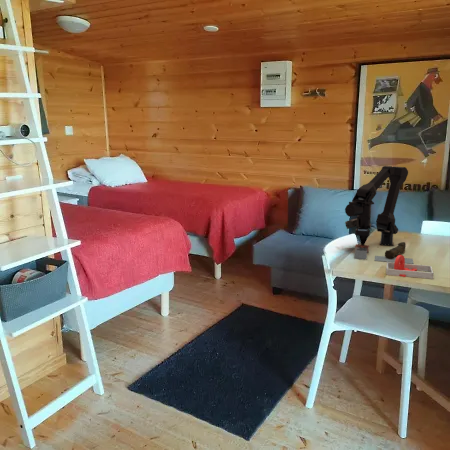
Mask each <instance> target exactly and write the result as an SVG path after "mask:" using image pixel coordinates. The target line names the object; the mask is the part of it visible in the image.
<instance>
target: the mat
mask: <svg viewBox="0 0 450 450" xmlns="http://www.w3.org/2000/svg"><path fill="white" fill-rule="evenodd" d="M396 257H397V256H394V258H392V259H388V258H386V257H385V255H375V256H374V262H383V263H384V262H385V263H387V262H390V263H395V259H396ZM404 258H405V264H414V265H415V262H414V259H413V258H410V257H409V258H406V257H404Z"/></svg>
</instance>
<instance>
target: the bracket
mask: <svg viewBox="0 0 450 450" xmlns="http://www.w3.org/2000/svg"><path fill="white" fill-rule="evenodd" d="M395 257H396V259H395V263H394V262H393V263H394V268H393V269H394V270H406V271H417V269H412V270H410V269H409V268H404V265H405V264H406V263H405V258H406V257H405V255H402V254H398V255H396V256H395ZM399 263H400V264H399ZM417 272H418V271H417ZM398 277H403V278H407V277H406V275H401V274H399V276H398Z"/></svg>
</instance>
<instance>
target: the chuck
mask: <svg viewBox="0 0 450 450" xmlns="http://www.w3.org/2000/svg"><path fill="white" fill-rule="evenodd" d="M367 254H368V252H367V248H358V247H356V249H354V260H355V259H356V260H365V259H366V260H367V259H368V258H367V256H368V255H367Z"/></svg>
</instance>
